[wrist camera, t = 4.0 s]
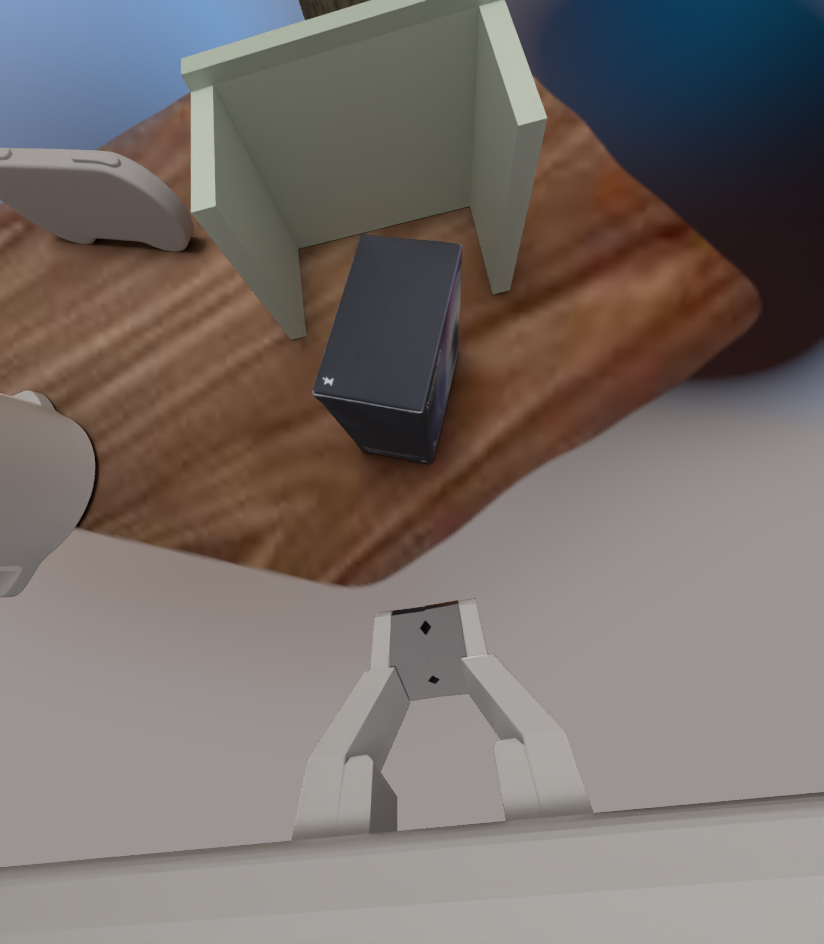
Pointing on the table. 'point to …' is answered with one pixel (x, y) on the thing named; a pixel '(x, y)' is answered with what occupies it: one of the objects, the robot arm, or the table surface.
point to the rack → (362, 136)
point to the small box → (394, 346)
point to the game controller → (93, 197)
